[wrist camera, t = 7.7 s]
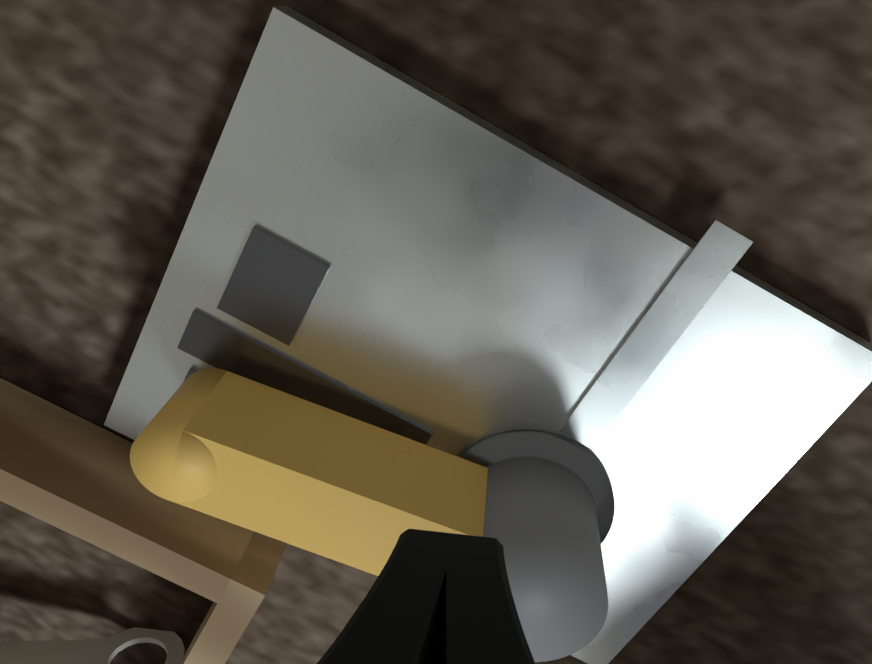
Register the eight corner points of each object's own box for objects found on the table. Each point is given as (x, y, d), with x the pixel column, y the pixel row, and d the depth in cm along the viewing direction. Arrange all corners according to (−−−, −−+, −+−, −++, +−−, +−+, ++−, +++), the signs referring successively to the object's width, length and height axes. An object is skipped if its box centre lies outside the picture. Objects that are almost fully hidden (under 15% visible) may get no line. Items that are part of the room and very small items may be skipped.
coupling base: (598, 644, 24) (602, 676, 23) (120, 406, 22) (99, 428, 21) (895, 317, 19) (918, 339, 18) (300, -30, 17) (285, -31, 16)
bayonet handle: (620, 486, 20) (636, 574, 17) (561, 585, 21) (567, 681, 18) (197, 327, 19) (139, 390, 16) (168, 441, 21) (110, 518, 18)
